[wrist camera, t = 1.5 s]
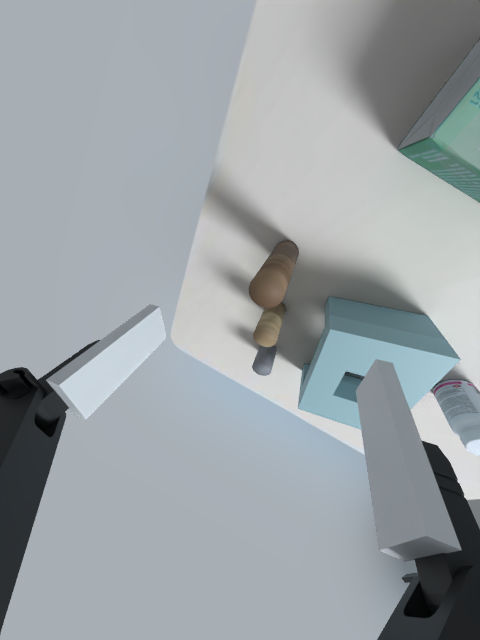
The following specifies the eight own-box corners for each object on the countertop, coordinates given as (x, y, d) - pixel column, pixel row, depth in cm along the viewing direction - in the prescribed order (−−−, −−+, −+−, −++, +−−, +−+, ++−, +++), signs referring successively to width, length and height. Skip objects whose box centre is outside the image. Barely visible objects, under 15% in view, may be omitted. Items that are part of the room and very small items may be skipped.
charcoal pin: (260, 340, 37) (253, 359, 33) (277, 345, 36) (272, 365, 33) (258, 353, 39) (251, 372, 35) (275, 357, 38) (269, 377, 34)
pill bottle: (427, 396, 32) (453, 451, 26) (439, 375, 30) (472, 431, 23) (466, 403, 31) (504, 464, 24) (483, 382, 28) (531, 444, 21)
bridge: (329, 296, 28) (330, 329, 22) (427, 315, 26) (460, 359, 19) (302, 370, 38) (297, 408, 32) (372, 390, 35) (382, 436, 29)
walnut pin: (276, 238, 26) (250, 271, 17) (301, 242, 26) (287, 278, 16) (272, 262, 28) (247, 303, 19) (295, 266, 28) (281, 311, 18)
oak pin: (267, 298, 32) (254, 325, 26) (287, 302, 31) (279, 331, 25) (264, 314, 34) (252, 343, 28) (283, 319, 33) (274, 349, 27)
